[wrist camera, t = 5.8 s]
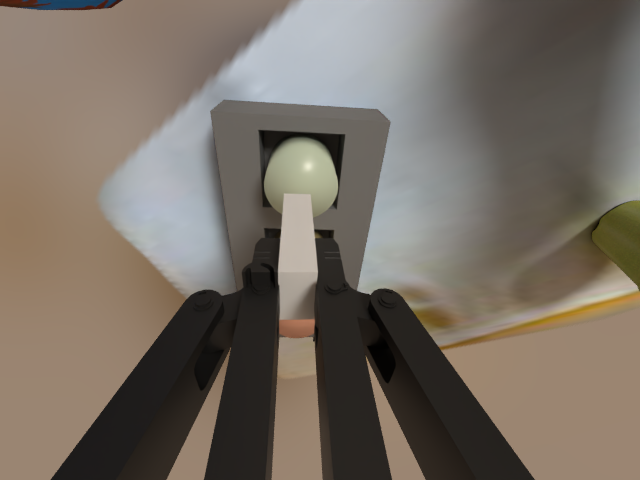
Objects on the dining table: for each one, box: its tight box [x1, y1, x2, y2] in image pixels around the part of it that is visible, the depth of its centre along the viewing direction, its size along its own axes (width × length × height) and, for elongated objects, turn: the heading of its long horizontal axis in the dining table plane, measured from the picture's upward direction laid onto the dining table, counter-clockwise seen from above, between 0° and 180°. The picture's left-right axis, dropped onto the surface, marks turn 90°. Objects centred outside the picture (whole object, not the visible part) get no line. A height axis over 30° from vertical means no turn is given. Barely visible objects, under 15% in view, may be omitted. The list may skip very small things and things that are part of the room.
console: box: [210, 100, 390, 337], centre depth 27 cm, size 24×12×4 cm, turn 176°
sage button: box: [264, 133, 338, 218], centre depth 21 cm, size 5×5×4 cm
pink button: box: [279, 318, 315, 338], centre depth 31 cm, size 5×5×4 cm
